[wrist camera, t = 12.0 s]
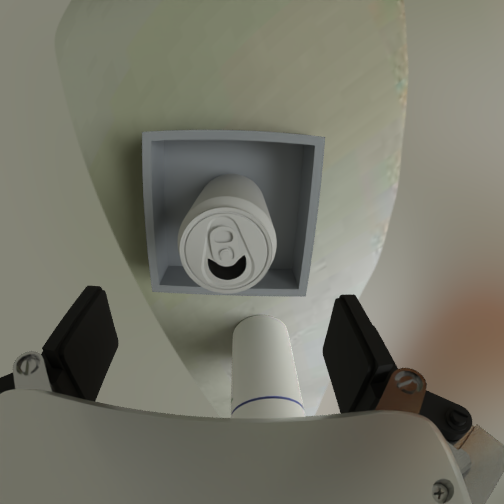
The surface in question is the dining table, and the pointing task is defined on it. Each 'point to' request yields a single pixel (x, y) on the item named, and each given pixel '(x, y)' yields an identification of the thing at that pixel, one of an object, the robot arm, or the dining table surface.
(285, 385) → the cylindrical container
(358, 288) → the dining table surface
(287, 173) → the box
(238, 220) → the beverage can
